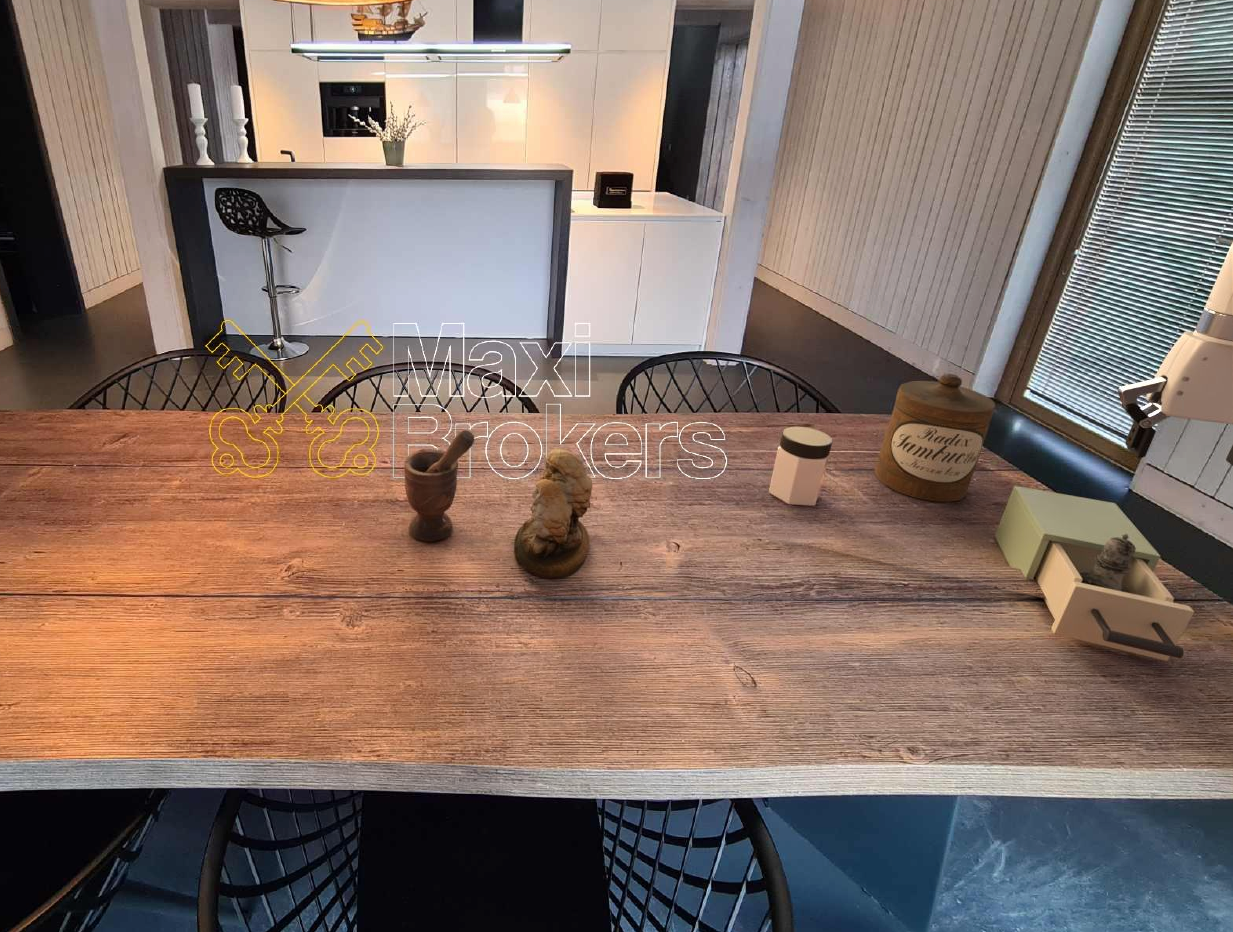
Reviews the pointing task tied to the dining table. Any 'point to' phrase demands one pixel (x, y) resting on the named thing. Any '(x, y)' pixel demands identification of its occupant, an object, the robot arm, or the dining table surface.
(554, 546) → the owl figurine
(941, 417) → the wooden container
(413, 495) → the mortar and pestle
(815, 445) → the jar
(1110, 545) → the chess piece
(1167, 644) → the drawer
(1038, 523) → the cabinet
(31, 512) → the dining table surface
